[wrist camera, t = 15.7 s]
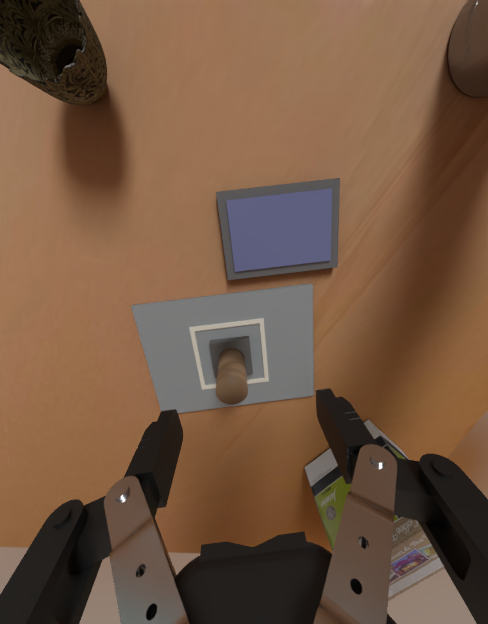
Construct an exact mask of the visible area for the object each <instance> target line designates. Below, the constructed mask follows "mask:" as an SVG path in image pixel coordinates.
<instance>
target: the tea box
mask: <svg viewBox="0 0 488 624" xmlns="http://www.w3.org/2000/svg"><path fill="white" fill-rule="evenodd" d="M364 424H365V426H366V427H367V429H368V430H369V432H370V433H371V435H372V436H373V438H374V439H375V441H376V442H377V444H378V445H379V446H381V447H383V448H385V449H386V450H388V451H389V452H390V453H391V454H392V455H393V456H395V457H397V458H401V459H407V460H409V458H408V457H407V456H406V455H405V454H404V453H403V451H402V450H401V449H400V448H399V447H398V446H397V445H396V444H395V443H394V442H392V441H391V440H390V439H389V438H388V437H387V436H386V435H385V434H384V433H382V432H381V431H380V430H379V429H378V428H377V427H376V426H375V425H374V424H373V423H372V422H371V421H369V420H366V421H365V422H364ZM304 469H305V472H306V475H307V478H308V481H309V484H310V487H311V489H312V492H313V495H314V498H315V501H316V504H317V507H318V510H319V513H320V516H321V519H322V522H323V525H324V528H325V531H326V534H327V537H328V539H329V542H330V545H331V548H332V551H333V549H334V545H335V541H336V537H337V533H338V528H339V524H340V520H341V516H342V512H343V508H344V504H345V500H346V496H347V493H348V492H350V488H351V484H346V483H345V480H344V478H343V476H342V474H341V471H340V469H339V467H338V464H337V462H336V460H335V458H334V455H333V453H332V451H331V449H328V450H327V451H326V452H324V453H323V454H322V455H320V456H319V457H318V458H316V459H315V460H314V461H312V462H311V463H310V464H308V465H307V466H306V467H305V468H304ZM443 569H445V567H444V566H443V564H442V562H441V560H440V559H439V557H438V555H437V553H436V552H435V550H434V548H433V547H432V545H431V543H430V541H429V540H428V538H427V536H426V534H425V533H424V531H423V529H422V527H421V526H420V524H419V522H418V521H416V520H412V519H408V518H404V517H400V516H396V515H394V526H393V539H392V553H391V566H390V580H389V593H388V601H389V600H391V599H393V598H394V597H396V596H398V595H399V594H401V593H403V592H404V591H406V590H408V589H409V588H411V587H413V586H415V585H417V584H418V583H420V582H422V581H423V580H425V579H427V578H429V577H431V576H433V575H434V574H436V573H438V572H440V571H441V570H443Z"/></svg>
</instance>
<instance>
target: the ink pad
mask: <svg viewBox="0 0 488 624" xmlns="http://www.w3.org/2000/svg"><path fill="white" fill-rule="evenodd" d="M339 188H340V178H336V179H327V180H318V181H309V182H301V183H292V184H283V185H274V186H265V187H256V188H248V189H239V190H230V191H221V192H216V195H217V203H218V210H219V217H220V225H221V232H222V240H223V247H224V255H225V262H226V269H227V277H228V280H235V279H243V278H252V277H260V276H268V275H277V274H285V273H293V272H302V271H310V270H318V269H327V268H335V267H337V265H338V226H339Z"/></svg>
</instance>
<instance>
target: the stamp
mask: <svg viewBox="0 0 488 624" xmlns="http://www.w3.org/2000/svg"><path fill="white" fill-rule="evenodd" d="M209 346H210V352H211V358H212V364H213V370H214V376H215V378H217V382H216V396H217V398H218V399H219V400H220V401H221V402H223V403H225V404H229V405H234V404H238V403H240V402H242V401H243V400H244V399H245V398H246V397H247V395H248V384H247V375H248V374H253V368H252V359H251V349H250V339H249V336H242V337H233V338H225V339H216V340H210V342H209Z"/></svg>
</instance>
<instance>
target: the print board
mask: <svg viewBox="0 0 488 624" xmlns="http://www.w3.org/2000/svg"><path fill="white" fill-rule="evenodd" d="M131 308H132V311H133V315H134V318H135V322H136V325H137V328H138V332H139V335H140V339H141V342H142V346H143V349H144V353H145V356H146V360H147V363H148V367H149V370H150V374H151V377H152V381H153V384H154V387H155V391H156V394H157V398H158V401H159V405H160V408H161V412H162V411H165V410H172V409H176V410H177V413H184V412H191V411H199V410H207V409H215V408H222V407H230V406H238V405H246V404H253V403H261V402H269V401H277V400H285V399H292V398H300V397H308V396H314V368H313V284H303V285H295V286H287V287H278V288H270V289H262V290H254V291H245V292H237V293H229V294H220V295H212V296H204V297H196V298H187V299H179V300H171V301H162V302H154V303H146V304H138V305H132V306H131ZM242 336H249V339H250V349H251V359H252V368H253V374H248V375H247V384H248V395H247V397H246V398H245V399H244V400H243V401H242V402H240V403H238V404H234V405H229V404H225V403H223V402H221V401H220V400H219V399H218V398H217V396H216V382H217V378H215V376H214V370H213V364H212V358H211V352H210V346H209V342H210V340H216V339H225V338H233V337H242Z"/></svg>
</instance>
